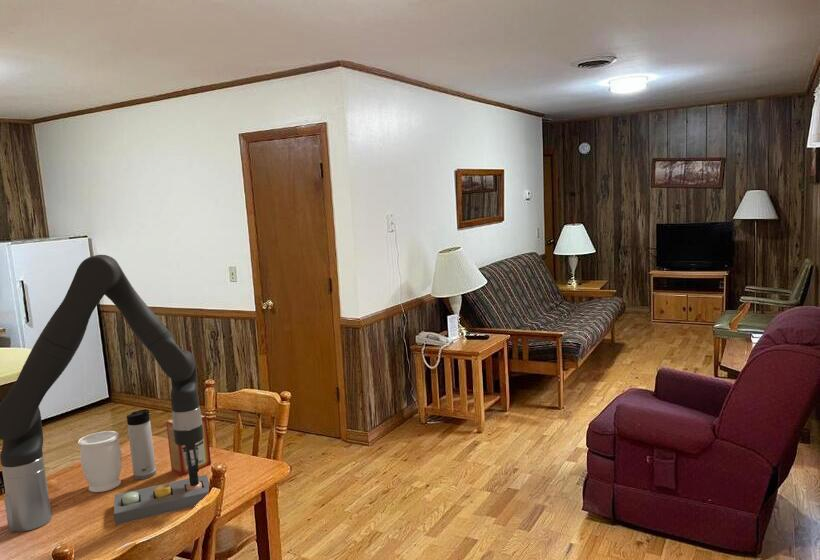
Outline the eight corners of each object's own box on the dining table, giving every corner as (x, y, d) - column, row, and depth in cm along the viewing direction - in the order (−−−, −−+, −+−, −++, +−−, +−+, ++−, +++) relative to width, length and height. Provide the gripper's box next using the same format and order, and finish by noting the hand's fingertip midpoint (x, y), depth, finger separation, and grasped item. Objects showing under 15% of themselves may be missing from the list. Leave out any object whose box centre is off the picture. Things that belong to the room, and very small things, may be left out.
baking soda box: (199, 459, 199) (194, 411, 197) (211, 464, 195) (205, 414, 193) (171, 470, 192) (165, 420, 190) (182, 476, 188) (177, 424, 186)
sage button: (123, 509, 165) (121, 500, 165) (123, 503, 168) (121, 494, 168) (139, 505, 166) (138, 496, 166) (139, 499, 170) (138, 490, 170)
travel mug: (149, 480, 186) (141, 414, 184) (129, 479, 188) (121, 414, 185) (161, 470, 193) (154, 407, 190) (142, 470, 194) (134, 407, 191)
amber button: (155, 502, 168) (154, 492, 168) (155, 496, 172) (154, 487, 171) (171, 498, 170) (170, 489, 169) (170, 492, 173) (169, 483, 173)
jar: (89, 498, 177) (82, 447, 175) (81, 486, 185) (74, 437, 183) (129, 485, 183) (123, 436, 181) (119, 475, 191) (113, 427, 189)
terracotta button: (187, 498, 171) (186, 489, 171) (186, 492, 175) (185, 483, 175) (203, 494, 173) (202, 485, 173) (201, 488, 177) (200, 480, 176)
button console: (115, 525, 161) (113, 514, 160) (115, 505, 172) (114, 494, 171) (213, 501, 170) (211, 491, 170) (207, 484, 181) (206, 474, 181)
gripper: (171, 419, 176) (178, 478, 178) (174, 434, 164) (182, 497, 166) (199, 414, 179) (205, 472, 181) (204, 428, 167) (211, 490, 169)
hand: (194, 484), depth 174 cm, fingers closed
